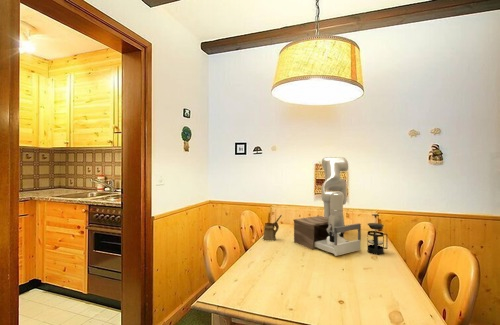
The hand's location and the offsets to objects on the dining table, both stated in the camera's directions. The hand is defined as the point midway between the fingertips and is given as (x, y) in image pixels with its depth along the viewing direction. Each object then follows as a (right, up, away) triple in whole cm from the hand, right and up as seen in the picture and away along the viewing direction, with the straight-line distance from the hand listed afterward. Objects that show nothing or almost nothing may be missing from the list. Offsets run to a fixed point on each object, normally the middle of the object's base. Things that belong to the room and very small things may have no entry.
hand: (336, 240), depth 166 cm
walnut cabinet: (-9, -6, +15) cm, 18 cm away
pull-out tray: (0, -5, 0) cm, 5 cm away
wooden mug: (-38, -6, +23) cm, 45 cm away
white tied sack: (0, -4, 0) cm, 4 cm away
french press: (+23, -6, -4) cm, 24 cm away
